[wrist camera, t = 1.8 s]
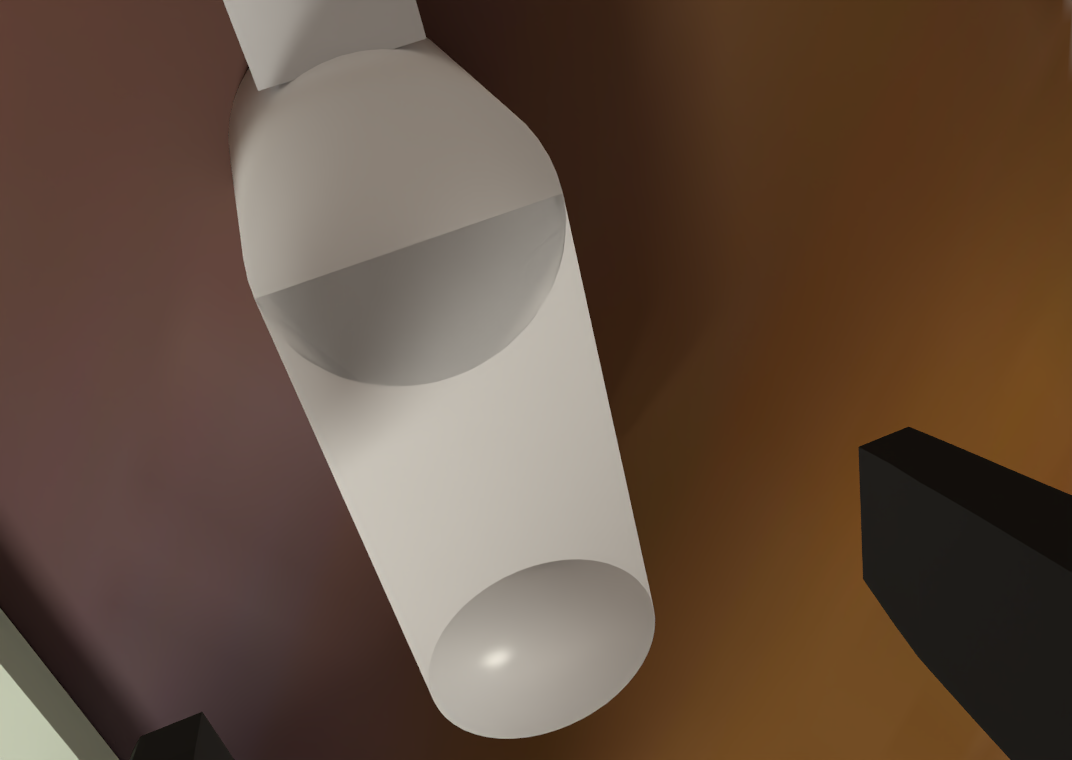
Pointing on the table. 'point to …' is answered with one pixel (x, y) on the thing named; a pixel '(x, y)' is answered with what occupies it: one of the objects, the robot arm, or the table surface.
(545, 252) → the grey connector
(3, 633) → the sage board
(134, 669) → the table surface
